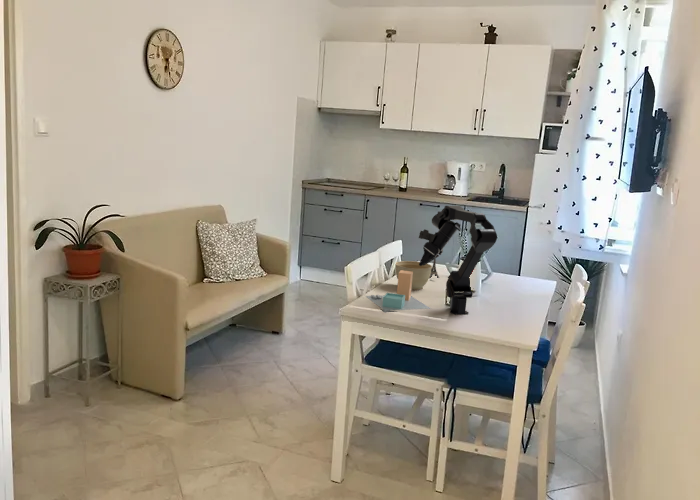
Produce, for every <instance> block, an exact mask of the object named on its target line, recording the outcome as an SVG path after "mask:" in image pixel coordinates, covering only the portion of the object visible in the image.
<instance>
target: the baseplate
mask: <svg viewBox="0 0 700 500" xmlns="http://www.w3.org/2000/svg"><path fill="white" fill-rule="evenodd" d="M365 297H366V299H368V300H369V301H371V302H372V303H374V304H375V305H376V306H378V307H379V308H381V309H380V311H382V312H383V313H397V312H398V311H403V310H404V311H405V310H408V311H409V310H428V309H429V310H431V309H432V308H431V307H430V306H428V305H426V304H425V303H424V302H422V301H420V300H419V299H417V298H415V297H413V296H412V295H411V298H410V299H409V301H407V300H405V295H401V294H397V293H393V292H386V293H385V295H383V294H382V295H380V294H376V295H375V294H371V295H365Z"/></svg>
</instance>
